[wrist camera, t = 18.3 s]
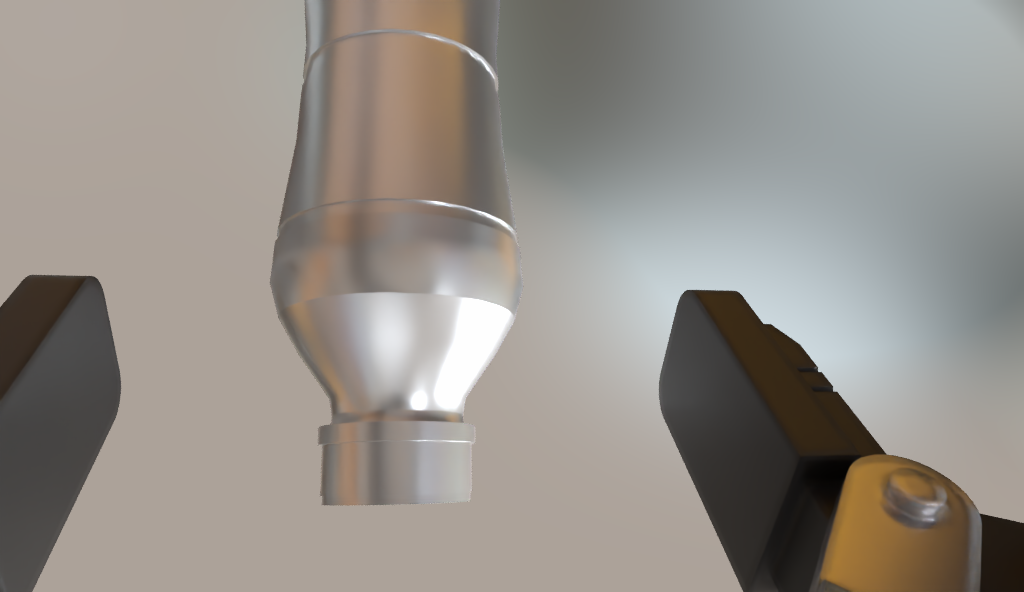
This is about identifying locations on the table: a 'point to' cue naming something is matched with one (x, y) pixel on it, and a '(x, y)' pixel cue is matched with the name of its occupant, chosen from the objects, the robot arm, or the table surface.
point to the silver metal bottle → (398, 240)
